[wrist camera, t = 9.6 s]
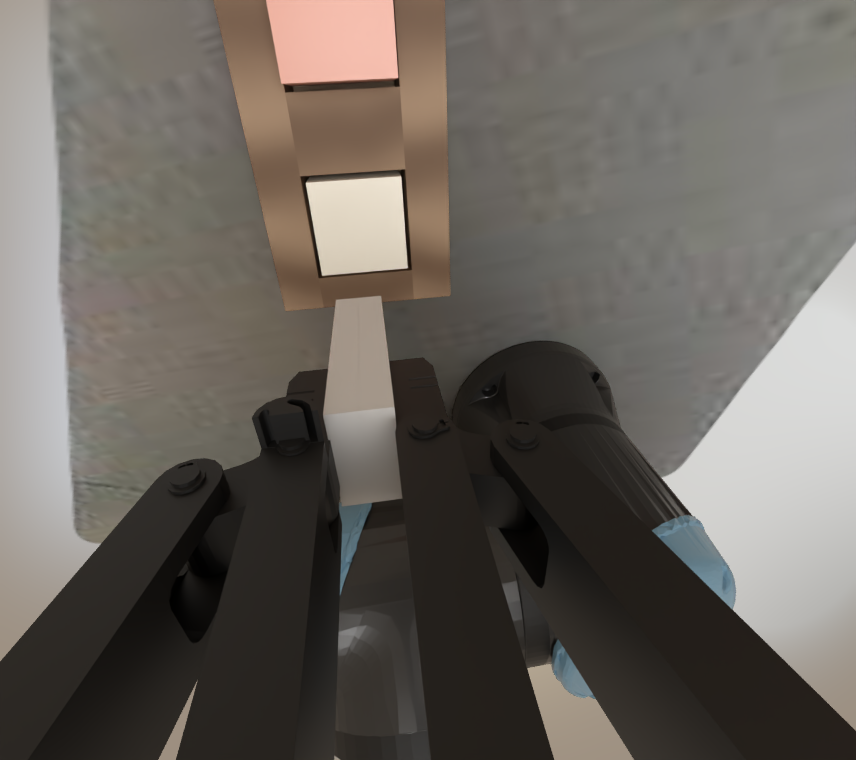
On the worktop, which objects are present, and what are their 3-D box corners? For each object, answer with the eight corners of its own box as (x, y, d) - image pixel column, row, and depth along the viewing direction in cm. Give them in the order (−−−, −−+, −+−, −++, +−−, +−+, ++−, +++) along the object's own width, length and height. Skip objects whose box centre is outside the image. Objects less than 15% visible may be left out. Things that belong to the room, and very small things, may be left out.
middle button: (392, 80, 25) (398, 77, 21) (292, 85, 24) (281, 83, 21) (382, -53, 22) (387, -82, 18) (269, -51, 21) (251, -80, 18)
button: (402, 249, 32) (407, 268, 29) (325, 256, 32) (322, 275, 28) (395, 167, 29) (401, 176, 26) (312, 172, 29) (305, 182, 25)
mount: (437, 267, 36) (450, 295, 30) (295, 280, 35) (285, 311, 30) (413, -408, 20) (433, -585, 14) (149, -420, 19) (70, -615, 13)
